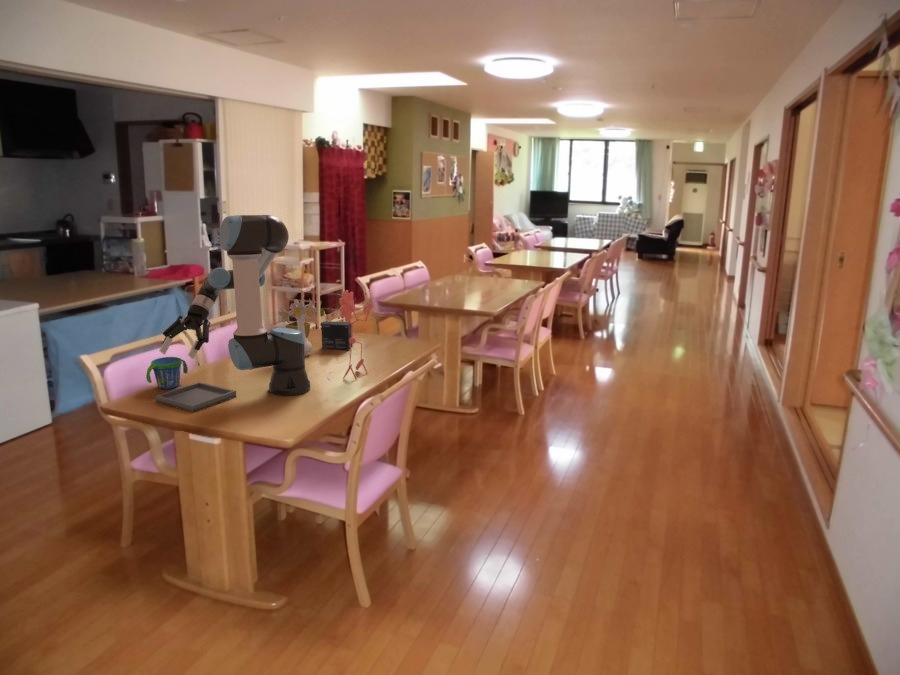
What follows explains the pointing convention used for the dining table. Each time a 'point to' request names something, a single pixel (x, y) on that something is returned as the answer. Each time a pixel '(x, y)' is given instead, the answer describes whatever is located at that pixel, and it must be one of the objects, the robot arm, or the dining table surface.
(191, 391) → the cup tray
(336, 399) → the dining table surface
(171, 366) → the snack cup
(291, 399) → the dining table surface
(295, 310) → the flower vase
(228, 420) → the dining table surface
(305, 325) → the flower pot
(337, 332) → the small box
